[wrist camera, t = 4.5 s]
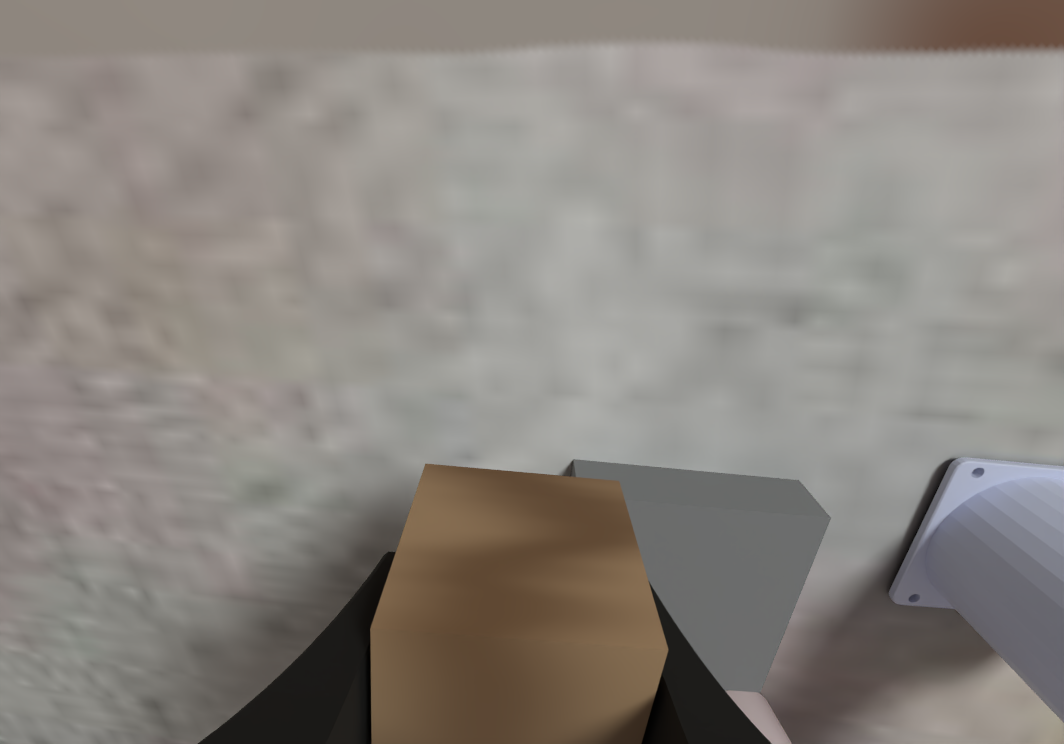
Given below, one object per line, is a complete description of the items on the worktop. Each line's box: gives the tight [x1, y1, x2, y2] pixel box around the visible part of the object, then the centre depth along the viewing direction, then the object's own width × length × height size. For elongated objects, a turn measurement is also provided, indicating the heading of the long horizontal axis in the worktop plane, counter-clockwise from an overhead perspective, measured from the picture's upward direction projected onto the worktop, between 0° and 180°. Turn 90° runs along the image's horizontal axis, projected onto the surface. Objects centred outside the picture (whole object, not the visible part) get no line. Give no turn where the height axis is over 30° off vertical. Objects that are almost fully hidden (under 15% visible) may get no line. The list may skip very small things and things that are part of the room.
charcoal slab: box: [571, 459, 831, 692], centre depth 23 cm, size 10×10×3 cm
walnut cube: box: [370, 464, 668, 744], centre depth 12 cm, size 5×5×5 cm
